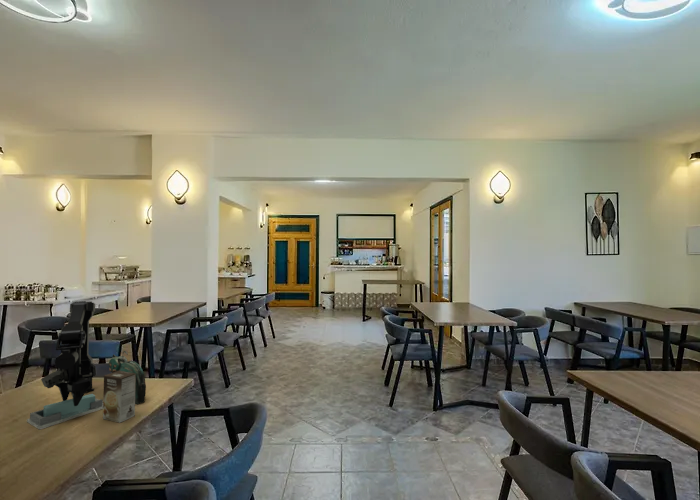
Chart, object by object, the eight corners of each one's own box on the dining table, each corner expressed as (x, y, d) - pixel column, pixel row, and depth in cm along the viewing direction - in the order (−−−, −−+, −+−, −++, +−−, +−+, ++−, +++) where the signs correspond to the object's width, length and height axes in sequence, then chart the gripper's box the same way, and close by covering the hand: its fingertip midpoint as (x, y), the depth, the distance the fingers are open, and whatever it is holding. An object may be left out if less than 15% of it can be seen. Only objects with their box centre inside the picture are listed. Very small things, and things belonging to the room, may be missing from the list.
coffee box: (101, 419, 130) (102, 375, 130) (118, 412, 136) (118, 370, 136) (120, 423, 127) (120, 378, 127) (136, 415, 133) (136, 372, 133)
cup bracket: (95, 400, 147) (95, 393, 147) (109, 406, 141) (109, 398, 141) (27, 421, 128) (27, 413, 128) (39, 429, 122) (39, 420, 122)
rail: (92, 403, 141) (92, 393, 141) (95, 406, 139) (95, 395, 139) (43, 416, 130) (43, 405, 130) (45, 419, 127) (45, 408, 128)
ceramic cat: (106, 397, 150) (107, 350, 151) (122, 392, 156) (122, 346, 157) (135, 406, 141) (135, 356, 142) (150, 400, 147) (151, 352, 147)
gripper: (34, 363, 133) (33, 405, 132) (55, 372, 123) (55, 417, 123) (69, 356, 142) (68, 395, 142) (92, 363, 133) (91, 405, 132)
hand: (70, 403), depth 135 cm, fingers open, 9 cm apart
